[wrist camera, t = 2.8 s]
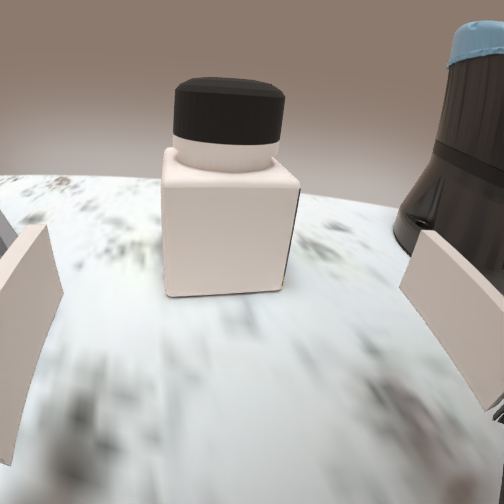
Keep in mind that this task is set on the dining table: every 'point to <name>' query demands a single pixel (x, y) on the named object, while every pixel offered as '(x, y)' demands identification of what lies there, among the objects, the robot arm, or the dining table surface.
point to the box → (6, 235)
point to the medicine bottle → (226, 190)
